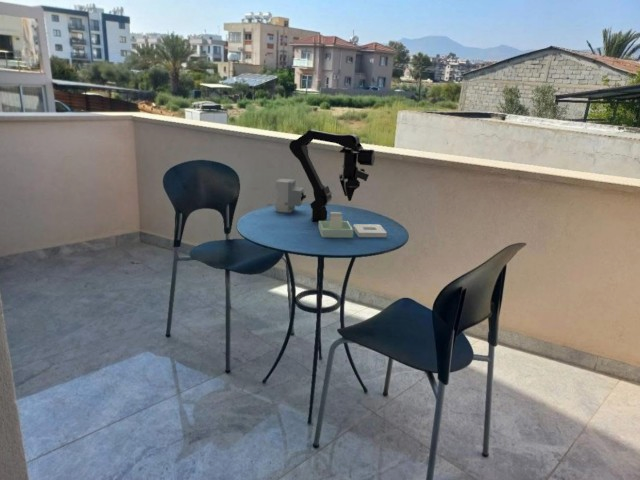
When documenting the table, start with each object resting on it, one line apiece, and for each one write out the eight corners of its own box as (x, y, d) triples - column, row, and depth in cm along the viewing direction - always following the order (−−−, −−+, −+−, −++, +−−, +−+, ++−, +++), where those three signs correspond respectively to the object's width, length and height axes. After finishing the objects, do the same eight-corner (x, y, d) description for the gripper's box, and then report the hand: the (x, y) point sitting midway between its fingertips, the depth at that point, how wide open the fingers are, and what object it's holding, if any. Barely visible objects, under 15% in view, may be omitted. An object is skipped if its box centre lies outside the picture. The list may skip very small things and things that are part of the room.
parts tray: (322, 237, 182) (322, 229, 181) (318, 227, 194) (318, 220, 193) (352, 237, 184) (353, 230, 182) (347, 228, 196) (347, 221, 195)
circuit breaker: (303, 214, 215) (304, 183, 210) (274, 211, 217) (275, 181, 212) (306, 210, 222) (307, 180, 217) (279, 207, 224) (279, 178, 219)
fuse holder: (358, 237, 184) (358, 232, 184) (353, 228, 196) (353, 224, 195) (386, 237, 186) (386, 232, 185) (379, 228, 197) (379, 224, 196)
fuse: (329, 231, 187) (330, 213, 184) (328, 229, 190) (329, 211, 187) (341, 231, 188) (342, 213, 185) (340, 229, 190) (341, 211, 188)
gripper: (372, 167, 185) (369, 203, 190) (363, 160, 203) (361, 194, 208) (346, 167, 184) (344, 203, 189) (339, 160, 201) (337, 193, 206)
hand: (347, 198), depth 198 cm, fingers open, 9 cm apart
